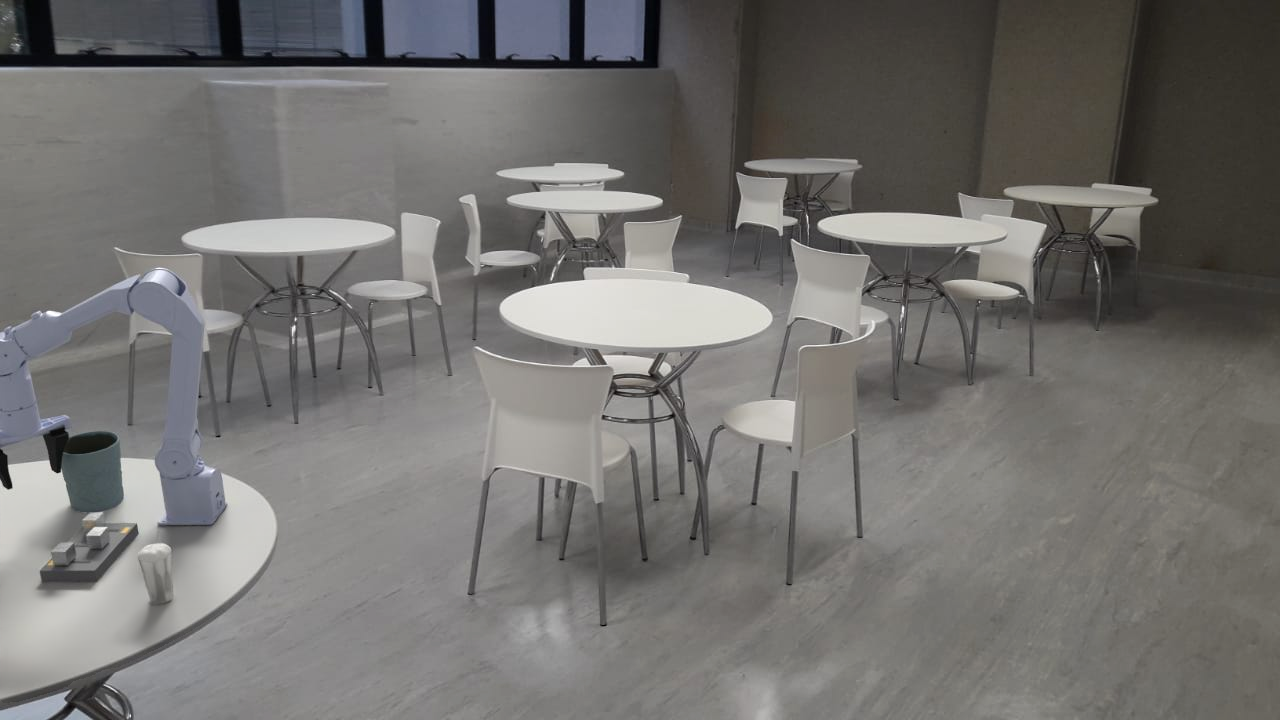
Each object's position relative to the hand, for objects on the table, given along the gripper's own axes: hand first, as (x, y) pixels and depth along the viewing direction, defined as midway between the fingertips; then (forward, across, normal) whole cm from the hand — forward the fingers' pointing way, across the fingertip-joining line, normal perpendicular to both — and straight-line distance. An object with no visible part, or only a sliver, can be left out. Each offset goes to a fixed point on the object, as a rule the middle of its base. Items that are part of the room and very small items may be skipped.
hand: (32, 479), depth 168 cm
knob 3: (+8, -2, +16) cm, 18 cm away
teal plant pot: (+10, -11, -3) cm, 15 cm away
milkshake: (+10, -2, +35) cm, 37 cm away
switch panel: (+10, -1, +15) cm, 18 cm away
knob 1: (+8, +4, +17) cm, 19 cm away
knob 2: (+8, -4, +11) cm, 14 cm away
